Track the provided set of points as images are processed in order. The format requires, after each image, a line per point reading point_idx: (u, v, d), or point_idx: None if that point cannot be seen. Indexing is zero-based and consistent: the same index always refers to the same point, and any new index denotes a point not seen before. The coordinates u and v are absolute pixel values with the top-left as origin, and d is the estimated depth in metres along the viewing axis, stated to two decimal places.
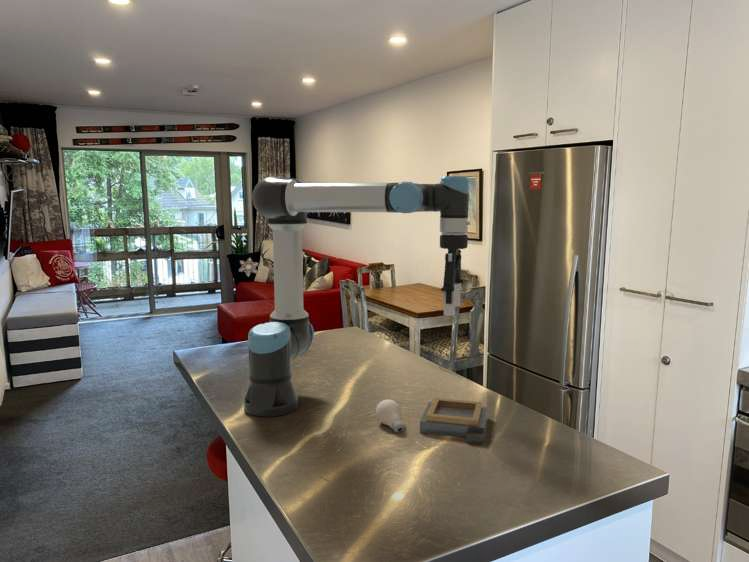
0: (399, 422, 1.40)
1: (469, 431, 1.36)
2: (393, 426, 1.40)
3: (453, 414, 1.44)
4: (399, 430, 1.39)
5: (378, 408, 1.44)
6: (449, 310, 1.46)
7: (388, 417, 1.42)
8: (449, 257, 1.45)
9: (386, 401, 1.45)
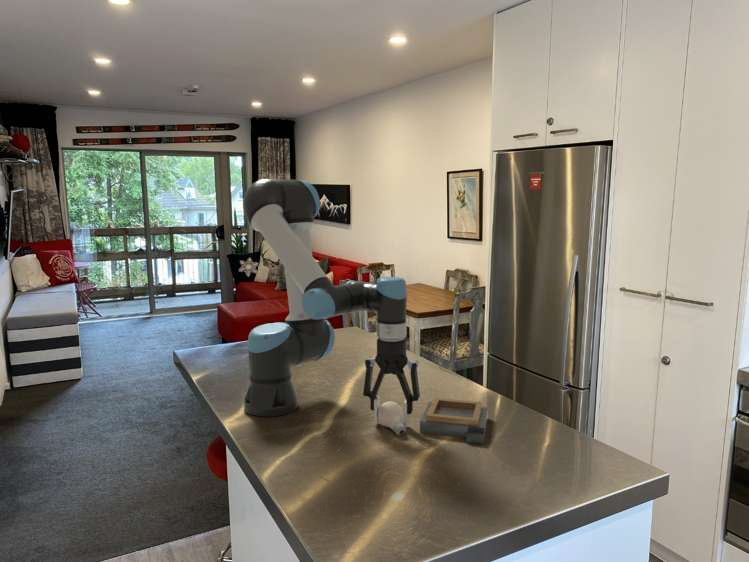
0: (401, 424, 1.38)
1: (469, 431, 1.36)
2: (395, 428, 1.38)
3: (453, 414, 1.44)
4: (401, 433, 1.37)
5: (380, 410, 1.43)
6: None
7: (389, 419, 1.40)
8: None
9: (388, 403, 1.43)
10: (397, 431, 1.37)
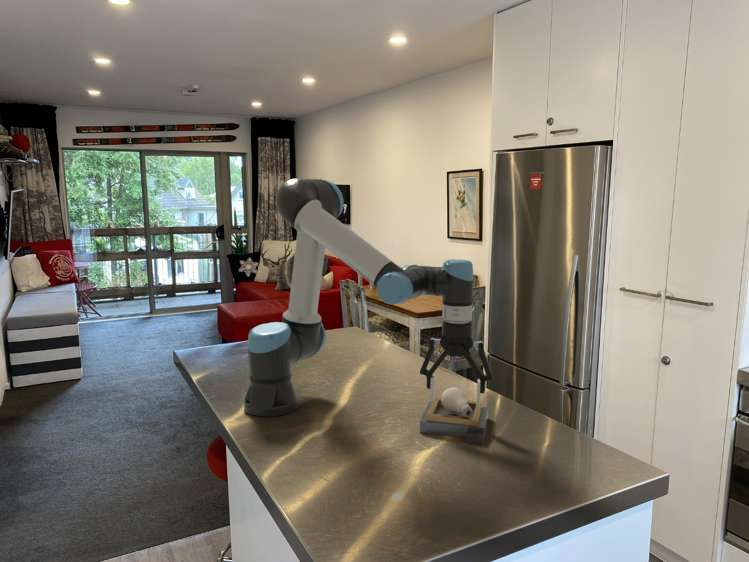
0: (467, 405, 1.39)
1: (469, 431, 1.36)
2: (461, 409, 1.38)
3: (453, 414, 1.44)
4: (468, 413, 1.38)
5: (444, 394, 1.44)
6: None
7: (455, 401, 1.41)
8: None
9: (452, 388, 1.44)
10: (464, 411, 1.38)
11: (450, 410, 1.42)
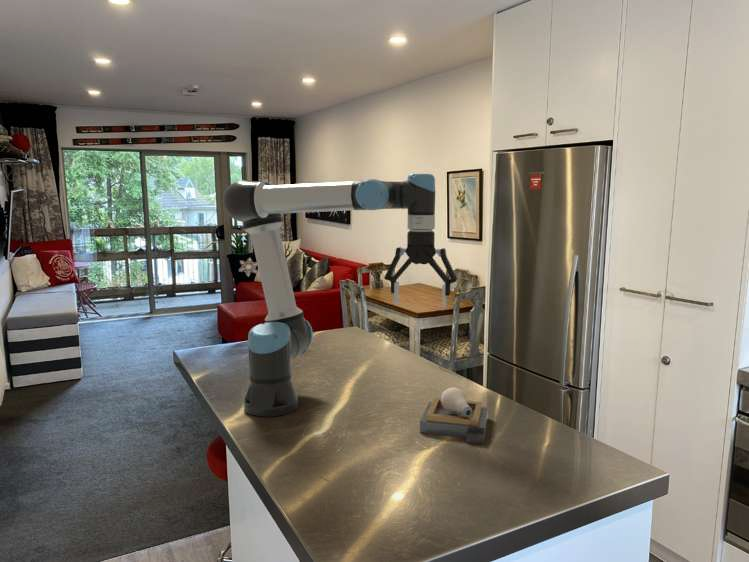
0: (467, 405, 1.39)
1: (469, 431, 1.36)
2: (461, 409, 1.38)
3: (453, 414, 1.44)
4: (467, 413, 1.38)
5: (443, 395, 1.43)
6: None
7: (454, 401, 1.41)
8: None
9: (451, 388, 1.44)
10: (464, 411, 1.38)
11: (450, 410, 1.42)
